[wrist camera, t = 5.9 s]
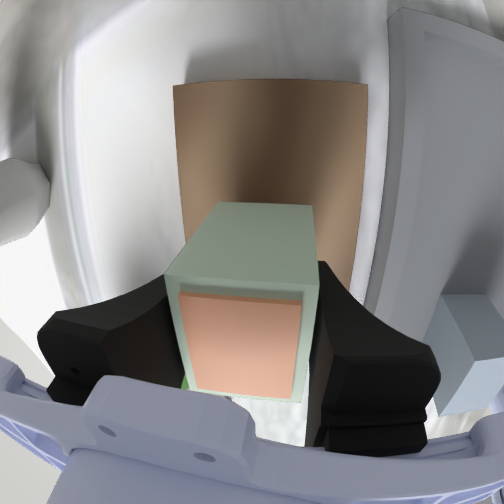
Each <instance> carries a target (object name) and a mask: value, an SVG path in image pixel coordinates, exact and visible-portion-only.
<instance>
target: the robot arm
mask: <svg viewBox="0 0 504 504" xmlns="http://www.w3.org/2000/svg"><path fill="white" fill-rule="evenodd" d="M318 272H319V293H318V301H317V309H316V316H315V323H314V330H313V337H312V343H311V350H310V356H309V373H310V375H309V397H308V412H307V425H306V437H305V447H298V446H293V445H289V444H284V443H279V442H275V441H271V440H267V439H262V438H259V437H256V434H255V422H254V420H253V419H252V417H251V415H250V413H249V412H248V411H247V410H246V409H244V408H243V407H241V406H240V405H238V404H236V403H235V402H233V401H232V400H230V399H226V398H222V397H219V396H215V395H212V394H208V393H201V392H195V391H189V390H184V389H181V386H182V383H183V379H184V376H185V369H184V365H183V361H182V357H181V353H180V349H179V345H178V341H177V336H176V332H175V327H174V323H173V318H172V313H171V309H170V304H169V299H168V294H167V289H166V283H165V278H164V274H163V275H161V276H159V277H158V278H156V279H154V280H152V281H151V282H149V283H147V284H145V285H143V286H141V287H139V288H137V289H135V290H133V291H131V292H128V293H126V294H124V295H121V296H118V297H115V298H113V299H110V300H107V301H104V302H101V303H97V304H93V305H89V306H85V307H81V308H75V309H69V310H63V311H56V312H55V313H54V314H53V315H52V316H51V318H50V319H49V320H48V321H47V322H46V323H45V324H44V325H43V327H42V328H41V329H40V330H39V331H38V334H37V340H38V345H39V348H40V350H41V352H42V354H43V356H44V357H45V359H46V361H47V363H48V364H49V366H50V368H51V369H52V371H53V373H54V374H55V376H56V377H55V378H54V379H53V381H52V383H51V384H50V385H49V387H48V388H46V387H43V386H41V385H39V384H37V383H35V382H33V381H31V380H28V379H27V378H25V375H24V374H23V372H22V370H21V369H20V368H19V367H18V365H17V364H15V363H14V362H12V361H10V360H8V359H6V358H4V357H2V356H0V430H1V431H3V432H4V433H5V434H7V435H8V436H10V437H11V438H12V439H14V440H15V441H17V442H18V443H19V444H21V445H22V446H24V447H25V448H26V449H28V450H29V451H31V452H32V453H34V454H35V455H37V456H38V457H40V458H41V459H43V460H44V461H46V462H48V463H49V464H51V465H52V466H54V467H55V468H57V469H59V470H61V471H62V473H61V475H60V477H59V479H58V481H57V483H56V485H55V487H54V489H53V491H52V493H51V495H50V497H49V500H48V501H47V504H474V503H476V502H479V501H481V500H484V499H486V498H488V497H489V496H491V495H492V502H493V504H504V385H503V387H502V388H501V389H500V391H499V392H498V393H497V395H496V396H495V397H494V399H493V400H492V401H491V403H490V404H489V407H490V409H491V412H492V415H489V416H486V417H483V418H482V419H480V420H479V421H478V422H476V423H475V424H474V426H473V427H472V428H471V430H470V431H469V432H465V433H460V434H456V435H451V436H446V437H440V438H434V439H428V440H427V436H426V431H425V426H424V422H425V421H426V420H427V414H426V410H425V407H426V406H427V404H428V403H429V401H430V400H431V398H432V397H433V395H434V393H435V392H436V390H437V389H438V386H439V384H440V382H441V372H440V369H439V366H438V363H437V361H436V358H435V356H434V354H433V352H432V350H431V347H430V346H429V345H427V344H424V343H422V342H420V341H417V340H415V339H413V338H410V337H408V336H406V335H404V334H403V333H401V332H399V331H397V330H395V329H394V328H392V327H390V326H389V325H387V324H386V323H384V322H383V321H381V320H380V319H378V318H377V317H376V316H374V315H373V314H372V313H370V312H369V311H368V310H367V309H366V308H365V307H363V306H362V305H361V304H360V303H359V302H358V301H357V300H356V299H355V298H354V297H353V296H352V295H351V294H350V293H349V292H348V291H347V289H346V288H345V287H344V286H343V284H342V283H341V282H340V281H339V279H338V278H337V277H336V275H335V274H334V272H333V271H332V270H331V268H330V267H329V265H328V264H327V262H326V261H318Z"/></svg>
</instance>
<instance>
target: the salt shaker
mask: <svg viewBox="0 0 504 504" xmlns="http://www.w3.org/2000/svg"><path fill="white" fill-rule="evenodd" d="M50 186H51V184H50V182H49V180H48V178H47V177H46V175H45V173H44V171H43V170H42V168H41V166H40V164H35V163H28V162H25V161H22V160H19V159H15V158H9V159H6V160H3V161H1V162H0V246H2V245H5V244H7V243H10V242H12V241H15V240H18V239H20V238H23V237H26V236H28V235H29V234H30V233H31V232H32V231H33V229H34V228H35V227H36V226H37V225H38V224H39V222H40V220H41V219H42V217H43V216H44V214H45V212H46V211H47V209H48V208H49V202H50Z"/></svg>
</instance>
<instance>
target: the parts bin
mask: <svg viewBox="0 0 504 504" xmlns="http://www.w3.org/2000/svg"><path fill="white" fill-rule="evenodd" d="M387 23H388V39H389V69H390V95H389V126H388V144H387V157H386V169H385V179H384V188H383V197H382V205H381V213H380V220H379V227H378V233H377V239H376V245H375V251H374V257H373V263H372V268H371V273H370V278H369V283H368V288H367V293H366V297H365V302H364V306H363V307H365V308H366V309H367V310H368V311H369V312H370V313H372V314H373V315H374V316H376V317H377V318H378V319H380V320H381V321H383V322H384V323H386V324H387V325H389V326H390V327H392V328H394V329H395V330H397V331H399V332H401V333H403V334H404V335H406V336H408V337H410V338H413V339H415V340H417V341H420V342H422V341H423V339H424V336H425V334H426V331H427V329H428V326H429V324H430V321H431V319H432V316H433V313H434V311H435V308H436V305H437V302H438V299H439V297H440V294H486V296H487V297H488V298H489V300H490V301H491V303H492V304H493V305H494V307H495V308H496V310H497V311H498V313H499V314H500V316H501V317H502V319H503V320H504V42H503V41H501V40H499V39H497V38H495V37H492V36H490V35H488V34H485V33H483V32H480V31H478V30H475V29H473V28H470V27H468V26H465V25H462V24H459V23H456V22H453V21H450V20H447V19H444V18H441V17H438V16H434V15H431V14H427V13H424V12H420V11H416V10H412V9H408V8H403V7H402V8H400V9H399V10H398V11H397V12H396V13H395V14H393V15H392V16H391V17H390V18H389V19H388V20H387Z"/></svg>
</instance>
